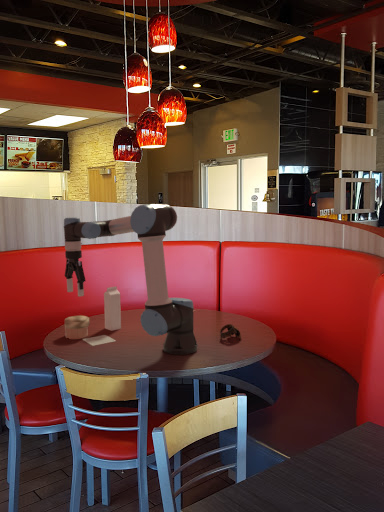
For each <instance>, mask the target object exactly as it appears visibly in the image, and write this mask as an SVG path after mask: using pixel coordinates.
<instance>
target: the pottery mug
mask: <svg viewBox="0 0 384 512" xmlns="http://www.w3.org/2000/svg"><path fill="white" fill-rule="evenodd" d="M226 329H227V331H225V330H226ZM219 330H220V331H219V333H220V334H219V338H220V339H221V340H222V339H226V338H232V337H233V336H234V335H235V336H234V337H235V338H239V340H240V341H241V340H242V335H241V332H240V330H239V328H238V327H236V326H234V324H232V323H228V324H225V325H223V326H221V328H220V329H219ZM224 331H225V332H224Z"/></svg>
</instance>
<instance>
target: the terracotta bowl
mask: <svg viewBox="0 0 384 512" xmlns="http://www.w3.org/2000/svg"><path fill="white" fill-rule="evenodd" d="M88 327H89V326H88ZM88 327H85V328H80V329H69V328H66V327H65V326H64V337H65V338H66V339H67V338H69V340H81V339H86V337H87V338H88V336H89V335H88V334H89V330H88Z"/></svg>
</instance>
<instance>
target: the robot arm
mask: <svg viewBox="0 0 384 512" xmlns="http://www.w3.org/2000/svg"><path fill="white" fill-rule="evenodd" d="M177 221H178V214H177V212H176V210H175V209H174V207H173V206H171V205H169V204H166V203H156V204H155V203H148V204H147V203H146V204H141V205H138V206H137V207H135V208H134V209H133V210H132V212H131V214H130V215H128V216H123V217H119V218H118V217H117V218H112V219H109V220H108V219H107V220H100V221H99V220H98V221H97V220H96V221H81V220H80V217H65V218H64V220H63V232H64V233H63V234H64V250H65V251H64V253H65V262H66V263H65V270H64V277H65V278H66V291H67V293H73V292H74V281H73V278H74V277H73V274H74V273H75V276H76V280H77V281H76V283H77V285H76V286H77V287H76V288H77V297H84V296H85V289H84V288H85V287H84V286H85V285H84V283H85V282H86V276H85V272H84V268H83V261H81V260H79V259H81V258H83V256H82V250H81V249H82V244H83V243H82V239H89V240H91V239H97V238H102V237H103V238H104V237H114V236H117V235H123V234H129V233H135V234H137V239H138V240H139V241H140V242H141V246H142V257H143V264H144V265H143V266H144V274H145V275H144V276H145V284H146V294H147V295H146V297H147V300H146V301H145V303H144V310H143V311H142V313H141V315H140V324H141V328H143V331H145V332H146V333H147V335H149V336H152V337H159V336H163V335H166V336H165V340H164V342H163V352H165V353H166V354H170V355H176V356H178V355H179V356H181V355H183V356H184V355H190V354H193V353H196V352H197V351H198V343H197V342H198V341H197V339H196V336H195V332H194V310H195V309H194V302H193V300H192V299H189V298H184V297H169V290H168V282H167V271H166V262H165V261H166V260H165V251H164V243H163V242H164V239H165V237H166V236H167V235H166V232H168V231H170V230H172V229H173V228H174V227H175V226H176V224H177Z"/></svg>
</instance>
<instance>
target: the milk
mask: <svg viewBox="0 0 384 512" xmlns="http://www.w3.org/2000/svg"><path fill="white" fill-rule="evenodd" d="M103 301H104V302H103V303H104V307H103V308H104V329H105V330H108V331H111V332H112V331H117V330H121V329H122V315H121V314H122V313H121V311H122V310H121V306H122V305H121V293H120V291H119V290H118V286H115V285H114V286H110V287H107V288H106V291H105V292H103Z"/></svg>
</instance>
